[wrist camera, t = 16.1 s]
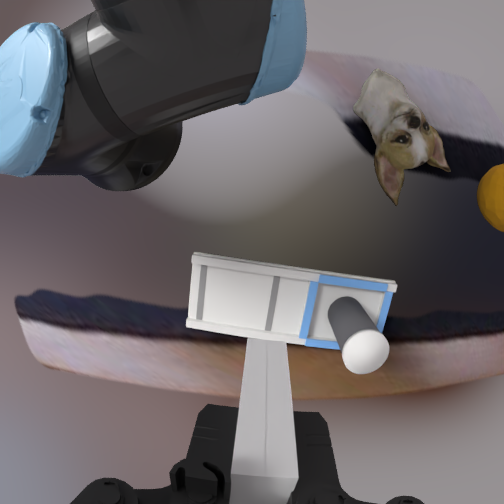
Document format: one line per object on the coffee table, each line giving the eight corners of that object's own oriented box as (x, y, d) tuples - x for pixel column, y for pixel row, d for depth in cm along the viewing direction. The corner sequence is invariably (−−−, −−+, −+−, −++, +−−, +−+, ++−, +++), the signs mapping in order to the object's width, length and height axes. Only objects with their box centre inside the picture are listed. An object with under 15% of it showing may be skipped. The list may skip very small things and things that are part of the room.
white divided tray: (194, 251, 39) (191, 253, 37) (394, 280, 38) (398, 284, 37) (188, 324, 41) (185, 329, 39) (375, 348, 40) (378, 353, 39)
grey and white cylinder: (330, 293, 39) (350, 330, 28) (366, 297, 38) (394, 333, 28) (323, 328, 40) (338, 372, 29) (357, 331, 39) (381, 374, 29)
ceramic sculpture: (417, 49, 24) (479, 170, 27) (389, 69, 33) (442, 168, 36) (340, 83, 26) (412, 215, 29) (324, 101, 35) (383, 205, 37)
